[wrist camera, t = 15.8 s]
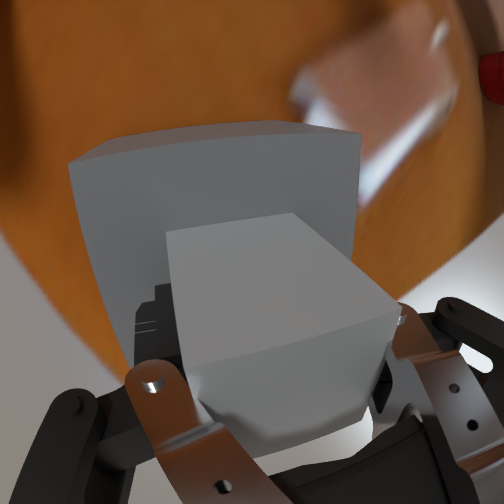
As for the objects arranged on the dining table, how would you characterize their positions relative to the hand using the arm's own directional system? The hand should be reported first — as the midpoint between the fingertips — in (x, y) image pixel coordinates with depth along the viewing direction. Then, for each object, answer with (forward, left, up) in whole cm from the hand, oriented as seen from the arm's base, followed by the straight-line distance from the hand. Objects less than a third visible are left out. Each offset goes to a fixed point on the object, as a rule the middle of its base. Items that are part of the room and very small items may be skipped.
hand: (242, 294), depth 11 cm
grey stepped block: (0, 0, -10) cm, 10 cm away
